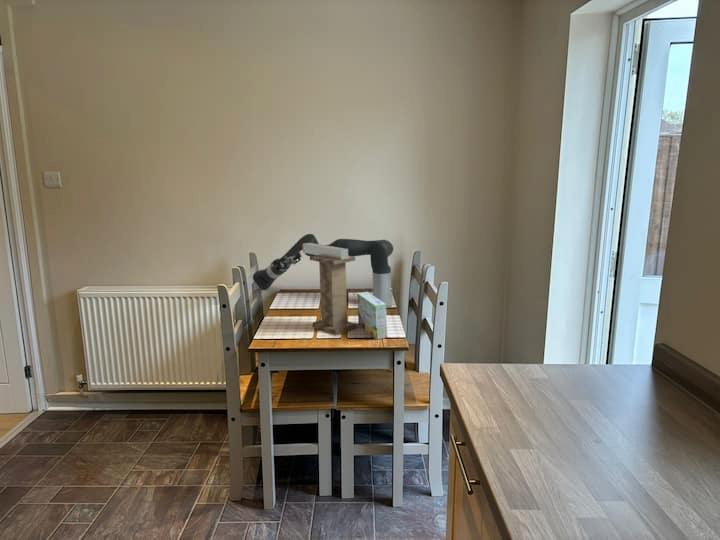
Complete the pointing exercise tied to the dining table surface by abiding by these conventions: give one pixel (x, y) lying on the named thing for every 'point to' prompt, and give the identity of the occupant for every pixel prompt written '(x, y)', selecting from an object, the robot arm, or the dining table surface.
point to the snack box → (372, 315)
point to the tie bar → (325, 251)
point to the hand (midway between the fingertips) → (293, 255)
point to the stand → (333, 295)
